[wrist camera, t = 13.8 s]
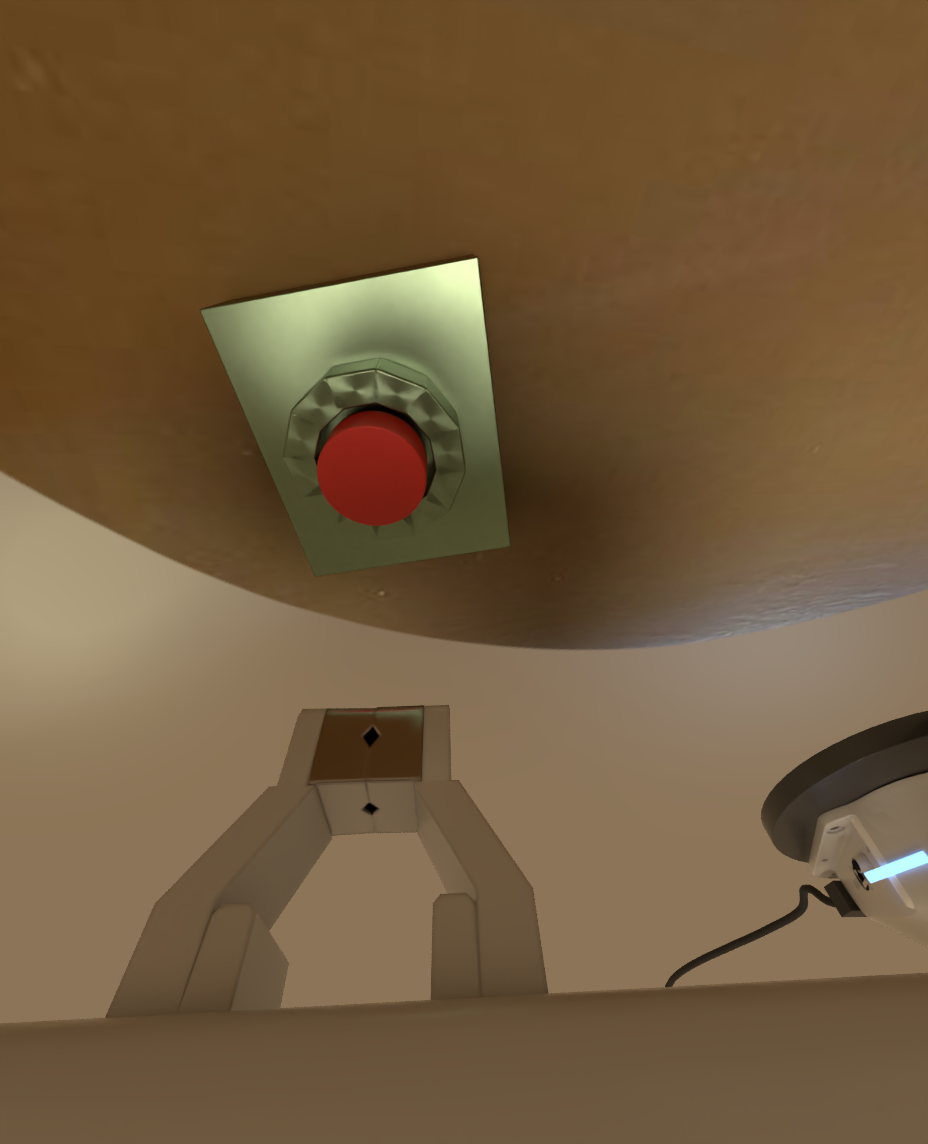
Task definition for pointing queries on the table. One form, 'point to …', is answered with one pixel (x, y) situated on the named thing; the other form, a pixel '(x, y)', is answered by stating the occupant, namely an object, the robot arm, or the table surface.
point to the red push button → (373, 468)
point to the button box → (373, 402)
